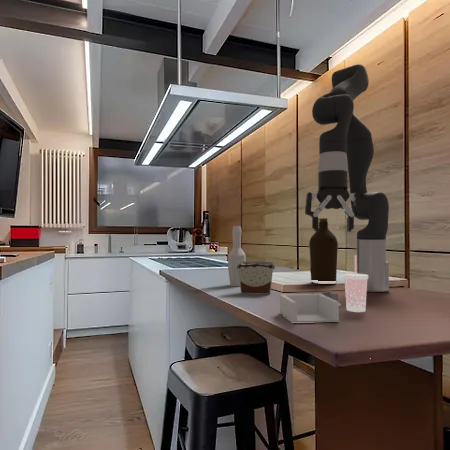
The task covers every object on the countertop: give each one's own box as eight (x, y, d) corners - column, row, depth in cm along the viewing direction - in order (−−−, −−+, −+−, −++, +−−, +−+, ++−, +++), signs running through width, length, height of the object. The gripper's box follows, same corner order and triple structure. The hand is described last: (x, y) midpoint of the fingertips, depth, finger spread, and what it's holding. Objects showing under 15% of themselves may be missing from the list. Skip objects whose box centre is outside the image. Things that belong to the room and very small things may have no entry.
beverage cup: (374, 311, 93) (373, 255, 93) (352, 313, 91) (352, 256, 91) (358, 307, 98) (358, 254, 99) (338, 308, 97) (338, 254, 97)
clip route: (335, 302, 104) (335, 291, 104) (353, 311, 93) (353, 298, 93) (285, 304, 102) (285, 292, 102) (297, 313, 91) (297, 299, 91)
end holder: (321, 312, 92) (321, 293, 92) (338, 322, 81) (338, 301, 81) (280, 313, 91) (280, 294, 91) (292, 324, 80) (292, 302, 80)
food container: (274, 291, 125) (274, 261, 125) (275, 294, 119) (274, 262, 119) (237, 290, 126) (237, 260, 126) (236, 293, 120) (236, 262, 120)
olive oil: (342, 283, 144) (341, 218, 145) (331, 286, 136) (330, 217, 136) (316, 280, 151) (316, 219, 151) (304, 283, 142) (304, 218, 143)
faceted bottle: (234, 283, 142) (234, 226, 142) (248, 285, 138) (248, 225, 139) (224, 285, 137) (224, 225, 137) (239, 287, 133) (239, 225, 134)
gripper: (356, 173, 103) (356, 231, 102) (303, 173, 104) (303, 231, 103) (364, 168, 95) (364, 231, 95) (307, 168, 96) (307, 231, 96)
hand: (332, 231), depth 99 cm, fingers open, 8 cm apart
